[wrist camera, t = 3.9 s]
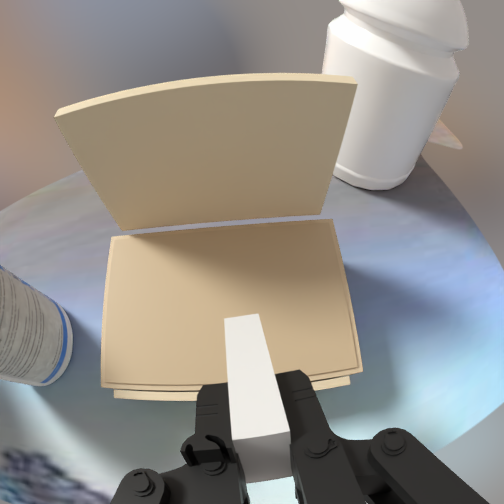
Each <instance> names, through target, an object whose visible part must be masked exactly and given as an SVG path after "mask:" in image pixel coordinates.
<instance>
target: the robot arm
mask: <svg viewBox="0 0 504 504" xmlns="http://www.w3.org/2000/svg"><path fill="white" fill-rule="evenodd" d="M224 325H225V344H226V361H227V377H228V382H225V383H217V384H208V385H203V386H202V388H201V389H200V391H199V393H198V394H197V403H196V407H197V408H196V425H195V434H194V435H192V436H191V437H189V438H188V439H187V440H186V441H185V442H184V443H183V444H182V447H181V450H180V452H181V454H182V456H183V457H184V459H185V461H186V463H187V464H185V465H184V466H182V467H180V468H178V469H175V470H172V471H168V472H165V473H161V474H158V473H157V472H155V471H153V470H151V469H143V468H140V469H136V470H133V471H131V472H129V473H128V474H126V475H125V477H124V478H123V479H122V481H121V483H120V485H119V487H118V489H117V491H116V493H115V495H114V497H113V499H112V501H111V503H110V504H250V499H249V496H248V493H247V487H246V483H254V482H261V481H268V480H274V479H280V478H285V477H290V476H293V478H294V482H295V495H296V499H298V503H299V504H366V502H367V503H368V504H489V503H488V502H487V501H486V500H485V499H484V498H482V497H481V496H480V495H479V494H478V493H477V492H475V491H474V490H473V489H472V488H471V487H470V486H469V485H467V484H466V483H465V482H464V481H463V480H462V479H461V478H459V477H458V476H457V475H456V474H455V473H454V472H453V471H451V470H450V469H449V468H448V467H447V466H446V465H445V464H444V463H442V462H441V461H440V460H439V459H438V458H437V457H436V456H435V455H434V454H433V453H431V452H430V451H429V450H428V449H427V448H426V447H425V446H424V445H423V444H422V443H420V442H419V441H418V440H417V439H416V438H415V437H414V436H413V435H412V434H411V433H409V432H407V431H406V430H404V429H400V428H387V429H385V430H382V431H380V432H379V433H378V434H376V435H375V436H374V437H373V439H370V440H347V439H344V438H341V437H339V436H337V435H336V434H334V433H333V432H332V431H331V429H330V427H329V425H328V423H327V420H326V418H325V415H324V413H323V411H322V408H321V406H320V403H319V401H318V398H317V397H316V393H315V391H314V389H313V386H312V384H311V381H310V379H309V377H308V376H307V375H306V374H305V373H303V372H302V371H301V370H300V369H299V370H294V371H288V372H283V373H278V374H274V370H273V366H272V363H271V359H270V355H269V351H268V348H267V344H266V340H265V336H264V333H263V329H262V325H261V321H260V318H259V314H258V313H257V314H251V315H245V316H238V317H231V318H224ZM365 501H366V502H365Z"/></svg>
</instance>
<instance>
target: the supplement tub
mask: <svg viewBox="0 0 504 504" xmlns="http://www.w3.org/2000/svg"><path fill="white" fill-rule="evenodd" d="M72 348H73V334H72V328H71V324H70V321H69V318H68V316H67V314H66V312H65V311H64V310H63V308H62V307H61V306H60V305H59V304H58V303H57V302H55V301H54V300H52V299H51V298H49V297H48V296H46V295H45V294H43V293H41V292H40V291H38V290H37V289H35V288H33V287H32V286H30V285H29V284H27V283H26V282H24V281H23V280H21V279H20V278H18V277H17V276H15V275H14V274H12V273H11V272H10V271H8V270H7V269H5V268H4V267H3V266H1V265H0V379H2V380H6V381H11V382H16V383H22V384H27V385H34V386H46V385H49V384H51V383H53V382H54V381H56V380H57V379H58V378H59V377H60V376H61V375H62V374H63V373H64V371H65V370H66V368H67V366H68V364H69V361H70V358H71V354H72Z"/></svg>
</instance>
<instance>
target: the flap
mask: <svg viewBox="0 0 504 504" xmlns="http://www.w3.org/2000/svg"><path fill="white" fill-rule="evenodd" d="M357 85H358V84H357V82H356V81H355V79H354V78H353V77H351V76H340V75H327V74H307V73H256V74H236V75H222V76H212V77H201V78H193V79H185V80H178V81H172V82H165V83H159V84H154V85H148V86H144V87H138V88H134V89H129V90H124V91H120V92H116V93H112V94H108V95H104V96H100V97H96V98H93V99H89V100H86V101H82V102H79V103H76V104H73V105H69V106H66V107H63V108H60V109H58V111H57V113H56V114H55V116H54V119H55V121H56V123H57V125H58V127H59V129H60V131H61V132H62V134H63V136H64V138H65V140H66V141H67V143H68V145H69V147H70V149H71V150H72V152H73V154H74V156H75V157H76V159H77V161H78V162H79V164H80V166H81V168H82V169H83V171H84V173H85V174H86V176H87V177H88V179H89V181H90V182H91V184H92V186H93V187H94V189H95V190H96V192H97V194H98V195H99V197H100V198H101V200H102V201H103V203H104V205H105V206H106V208H107V209H108V211H109V212H110V214H111V215H112V217H113V218H114V220H115V221H116V223H117V224H118V226H119V227H120V229H121V230H122V231H125V230H134V229H144V228H153V227H163V226H174V225H184V224H195V223H207V222H219V221H231V220H244V219H257V218H271V217H286V216H303V215H320V213H321V210H322V207H323V204H324V200H325V197H326V194H327V191H328V188H329V184H330V181H331V178H332V175H333V171H334V168H335V165H336V161H337V158H338V155H339V151H340V148H341V144H342V141H343V137H344V134H345V130H346V127H347V123H348V119H349V116H350V112H351V108H352V105H353V101H354V97H355V93H356V89H357Z"/></svg>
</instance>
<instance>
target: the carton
mask: <svg viewBox="0 0 504 504" xmlns="http://www.w3.org/2000/svg"><path fill="white" fill-rule="evenodd" d="M257 313H258V314H259V318H260V321H261V325H262V329H263V333H264V336H265V340H266V344H267V348H268V351H269V355H270V359H271V363H272V366H273V370H274V374H278V373H283V372H288V371H294V370H299V369H300V370H301V371H302V372H303V373H305V374H306V375H307V376H308V377H309V379H310V381H311V384H312V386H313V389H314V391H316V390H322V389H328V388H334V387H339V386H345V385H350V378H349V376H348V375H352V374H356V373H360V372H363V367H362V360H361V354H360V347H359V341H358V335H357V330H356V324H355V319H354V313H353V308H352V303H351V298H350V293H349V288H348V283H347V279H346V274H345V270H344V265H343V261H342V256H341V252H340V248H339V244H338V240H337V236H336V232H335V228H334V224H333V220H332V219H321V220H305V221H289V222H274V223H260V224H247V225H234V226H221V227H209V228H198V229H186V230H175V231H165V232H154V233H144V234H134V235H125V236H115V237H112V238H111V245H110V251H109V259H108V266H107V275H106V284H105V294H104V305H103V319H102V338H101V387H104V388H112V389H120V390H114V398H122V399H137V400H161V401H197V394H198V393H199V391H200V389H201V388H202V386H203V385H208V384H217V383H225V382H228V377H227V361H226V344H225V325H224V318H231V317H238V316H245V315H251V314H257ZM344 376H346V377H344ZM340 377H341V378H340ZM334 378H335V379H334ZM328 379H329V380H328ZM322 380H323V381H322ZM316 381H317V382H316ZM127 390H130V391H127ZM148 391H151V392H148Z"/></svg>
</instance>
